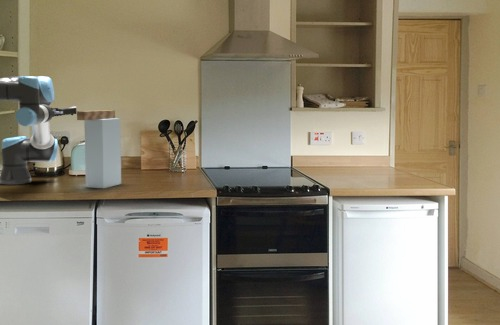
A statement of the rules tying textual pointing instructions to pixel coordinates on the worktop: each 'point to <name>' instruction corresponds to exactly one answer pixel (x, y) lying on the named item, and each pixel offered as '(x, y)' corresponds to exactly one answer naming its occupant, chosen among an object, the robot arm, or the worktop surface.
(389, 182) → the worktop surface
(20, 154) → the robot arm
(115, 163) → the stand
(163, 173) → the worktop surface
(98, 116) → the rod
